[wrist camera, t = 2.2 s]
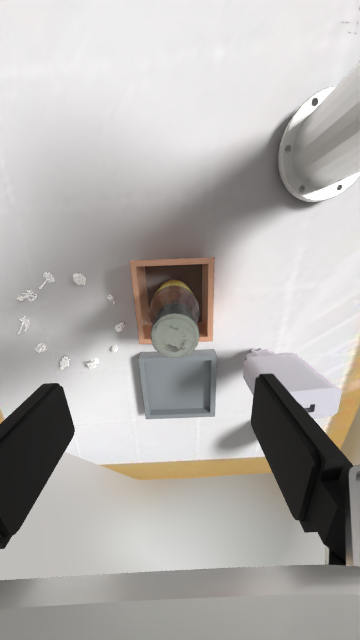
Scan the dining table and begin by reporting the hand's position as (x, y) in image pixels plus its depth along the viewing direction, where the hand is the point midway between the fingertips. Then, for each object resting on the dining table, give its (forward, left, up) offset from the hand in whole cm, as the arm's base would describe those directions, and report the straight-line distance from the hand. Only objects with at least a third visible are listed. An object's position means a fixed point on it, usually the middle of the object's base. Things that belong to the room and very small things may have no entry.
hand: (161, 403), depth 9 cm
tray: (0, +19, -26) cm, 32 cm away
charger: (-16, +12, -26) cm, 33 cm away
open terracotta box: (0, 0, -26) cm, 26 cm away
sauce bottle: (0, 0, -26) cm, 26 cm away
